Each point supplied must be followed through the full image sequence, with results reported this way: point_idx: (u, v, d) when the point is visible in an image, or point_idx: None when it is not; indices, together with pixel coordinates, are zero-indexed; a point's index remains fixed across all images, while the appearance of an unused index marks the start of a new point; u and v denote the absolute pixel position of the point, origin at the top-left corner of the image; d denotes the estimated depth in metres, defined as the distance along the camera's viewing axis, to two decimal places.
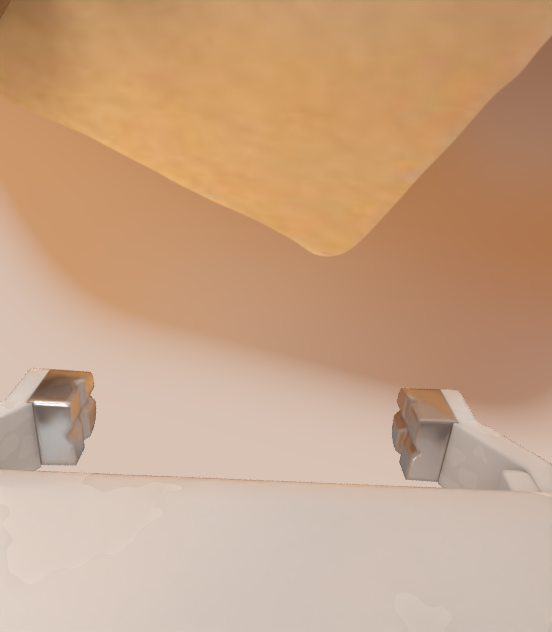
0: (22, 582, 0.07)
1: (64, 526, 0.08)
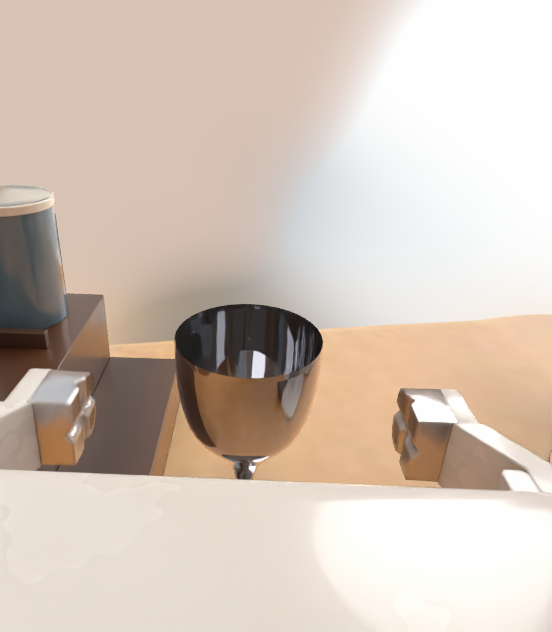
0: (22, 582, 0.07)
1: (64, 526, 0.08)
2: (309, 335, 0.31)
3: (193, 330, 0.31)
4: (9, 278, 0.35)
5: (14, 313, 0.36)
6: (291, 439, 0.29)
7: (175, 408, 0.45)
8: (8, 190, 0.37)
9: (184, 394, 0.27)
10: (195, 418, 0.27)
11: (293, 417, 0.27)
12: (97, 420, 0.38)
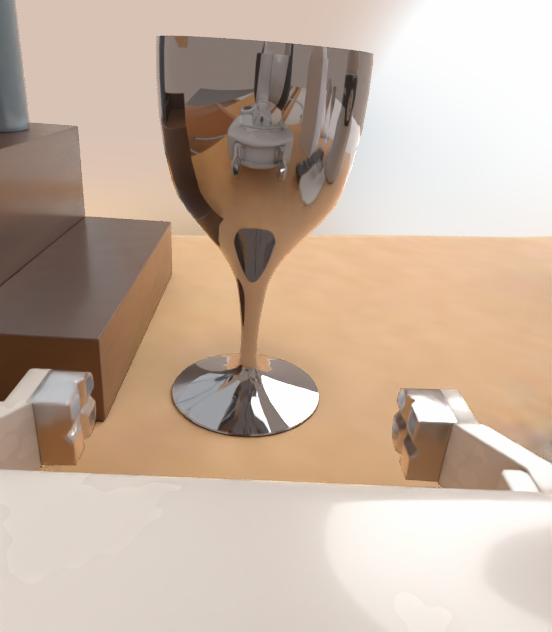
0: (21, 582, 0.07)
1: (64, 526, 0.08)
2: None
3: None
4: None
5: None
6: (324, 198, 0.20)
7: (164, 276, 0.36)
8: None
9: (168, 109, 0.18)
10: (183, 147, 0.18)
11: (330, 145, 0.18)
12: (59, 257, 0.29)
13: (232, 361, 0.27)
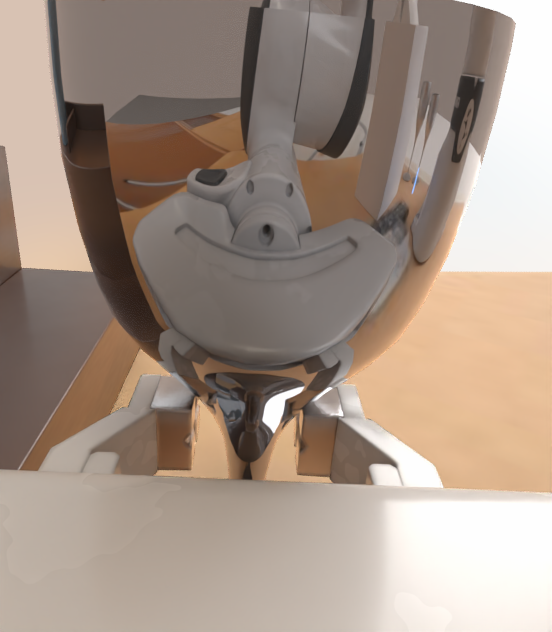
0: (22, 582, 0.07)
1: (64, 526, 0.08)
2: None
3: None
4: None
5: None
6: (399, 324, 0.09)
7: (127, 353, 0.26)
8: None
9: (67, 143, 0.08)
10: (101, 227, 0.08)
11: (425, 227, 0.08)
12: None
13: None
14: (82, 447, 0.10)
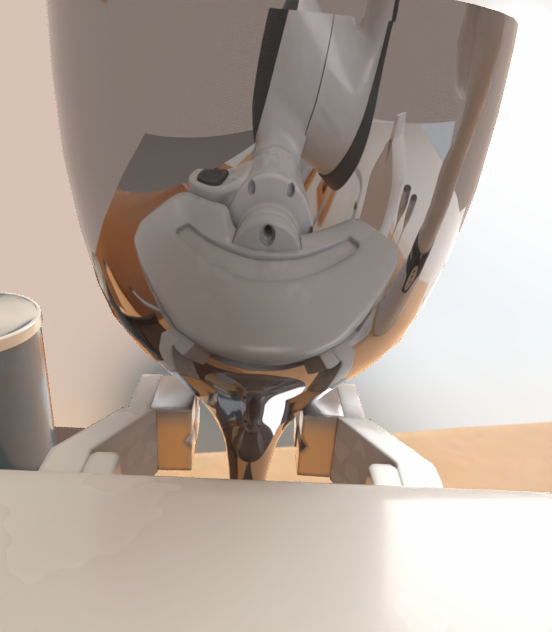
0: (21, 581, 0.07)
1: (64, 526, 0.08)
2: None
3: None
4: None
5: None
6: (400, 325, 0.09)
7: None
8: None
9: (69, 143, 0.08)
10: (103, 226, 0.08)
11: (427, 227, 0.08)
12: None
13: None
14: (82, 447, 0.10)
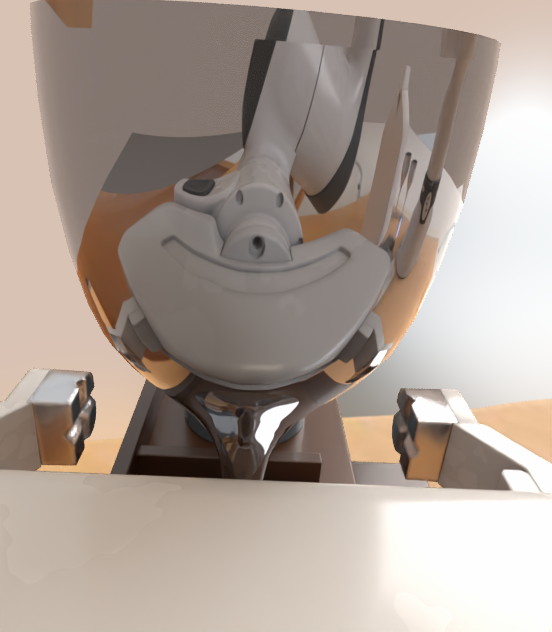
0: (22, 582, 0.07)
1: (64, 526, 0.08)
2: None
3: None
4: None
5: None
6: (388, 342, 0.10)
7: None
8: None
9: (55, 167, 0.08)
10: (89, 250, 0.08)
11: (411, 248, 0.08)
12: None
13: None
14: None
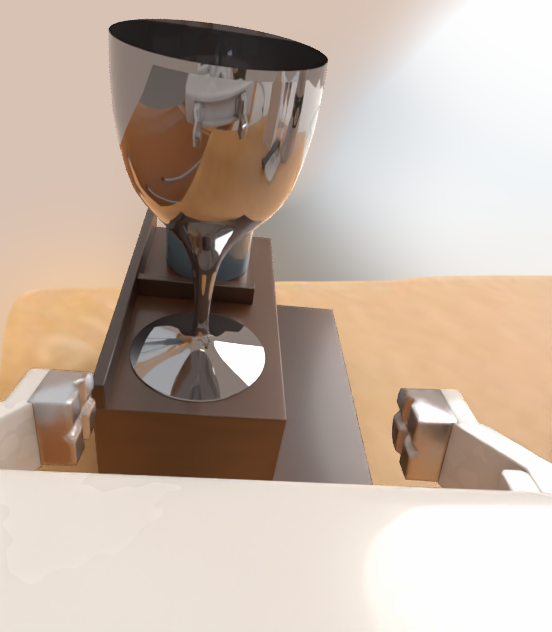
0: (22, 582, 0.07)
1: (64, 526, 0.08)
2: (305, 69, 0.22)
3: (141, 47, 0.21)
4: None
5: None
6: (272, 202, 0.21)
7: None
8: None
9: (121, 111, 0.19)
10: (136, 151, 0.19)
11: (278, 158, 0.19)
12: (282, 378, 0.36)
13: (187, 323, 0.29)
14: None
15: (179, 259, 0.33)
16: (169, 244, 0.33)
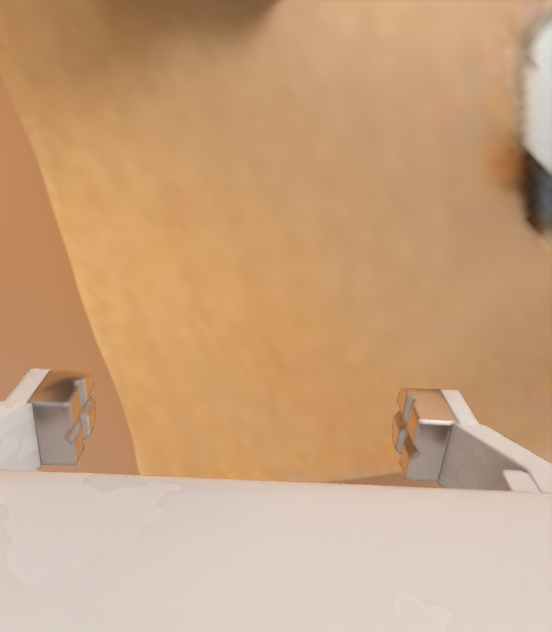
0: (22, 582, 0.07)
1: (64, 526, 0.08)
2: None
3: None
4: None
5: None
6: None
7: None
8: None
9: None
10: None
11: None
12: None
13: None
14: None
15: None
16: None
